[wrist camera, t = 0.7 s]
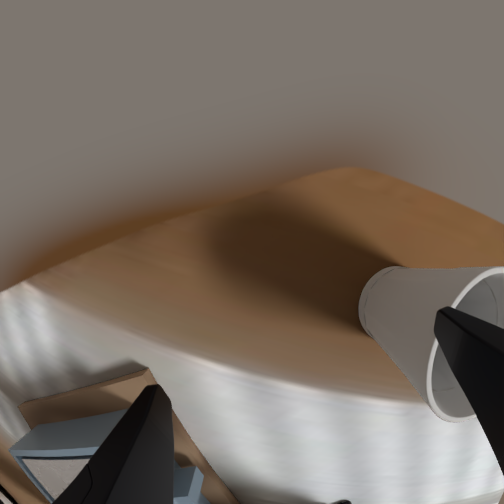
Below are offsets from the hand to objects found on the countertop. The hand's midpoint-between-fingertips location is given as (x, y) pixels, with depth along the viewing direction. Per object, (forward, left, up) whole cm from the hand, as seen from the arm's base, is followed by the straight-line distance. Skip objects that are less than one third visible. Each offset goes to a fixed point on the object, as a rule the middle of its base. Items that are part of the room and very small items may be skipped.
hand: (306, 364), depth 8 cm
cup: (-5, -8, -14) cm, 17 cm away
